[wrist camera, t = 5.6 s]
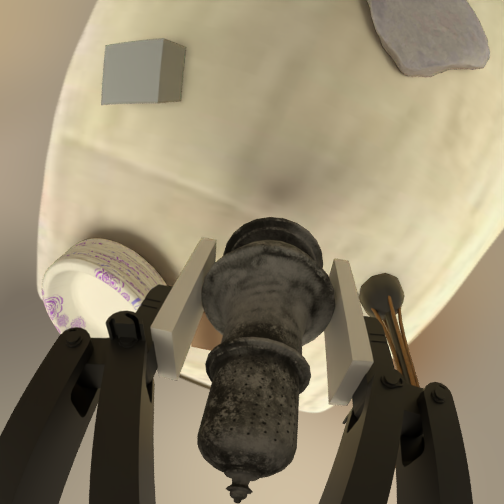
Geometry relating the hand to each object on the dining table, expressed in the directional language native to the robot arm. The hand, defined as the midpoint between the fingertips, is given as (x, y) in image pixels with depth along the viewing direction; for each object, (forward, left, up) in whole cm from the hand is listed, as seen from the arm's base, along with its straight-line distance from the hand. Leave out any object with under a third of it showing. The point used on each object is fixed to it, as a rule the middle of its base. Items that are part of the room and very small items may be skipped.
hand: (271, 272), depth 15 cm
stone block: (-9, -19, -13) cm, 25 cm away
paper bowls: (+16, +13, -13) cm, 24 cm away
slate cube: (+12, -10, -13) cm, 20 cm away
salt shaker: (0, 0, -1) cm, 1 cm away
